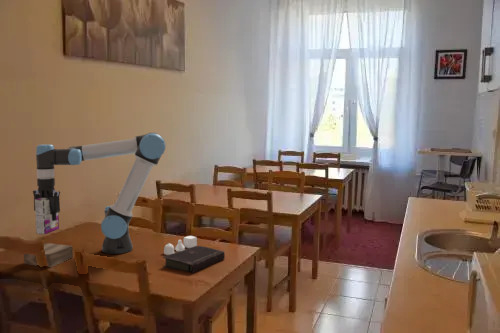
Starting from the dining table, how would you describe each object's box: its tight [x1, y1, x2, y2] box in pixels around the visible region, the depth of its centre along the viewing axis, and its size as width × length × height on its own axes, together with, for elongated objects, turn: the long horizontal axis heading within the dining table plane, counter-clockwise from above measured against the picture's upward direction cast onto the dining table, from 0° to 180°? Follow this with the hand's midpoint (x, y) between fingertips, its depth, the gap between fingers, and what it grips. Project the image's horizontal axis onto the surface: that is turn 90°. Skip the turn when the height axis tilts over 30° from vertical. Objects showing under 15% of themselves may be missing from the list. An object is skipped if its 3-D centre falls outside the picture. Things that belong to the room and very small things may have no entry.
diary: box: [162, 245, 226, 274], centre depth 224 cm, size 19×25×5 cm
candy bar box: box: [34, 195, 60, 235], centre depth 223 cm, size 11×5×16 cm, turn 168°
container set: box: [163, 235, 198, 256], centre depth 245 cm, size 20×5×6 cm, turn 142°
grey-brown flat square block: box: [23, 242, 74, 268], centre depth 225 cm, size 15×15×6 cm
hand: (47, 226), depth 223 cm, fingers closed on candy bar box, 5 cm apart
